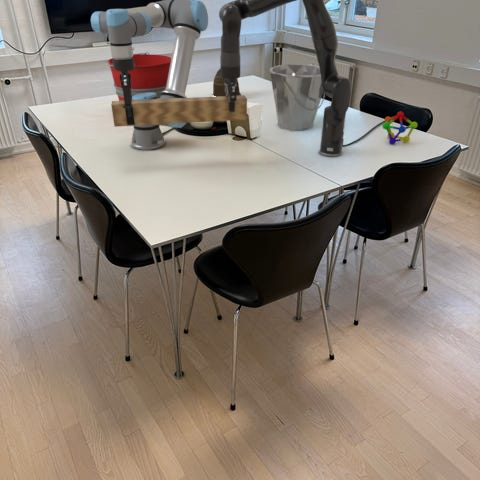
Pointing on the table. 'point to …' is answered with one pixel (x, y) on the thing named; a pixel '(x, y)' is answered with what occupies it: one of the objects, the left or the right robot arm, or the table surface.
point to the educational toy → (398, 128)
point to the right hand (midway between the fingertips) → (230, 109)
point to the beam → (180, 110)
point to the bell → (222, 85)
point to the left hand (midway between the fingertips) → (131, 122)
